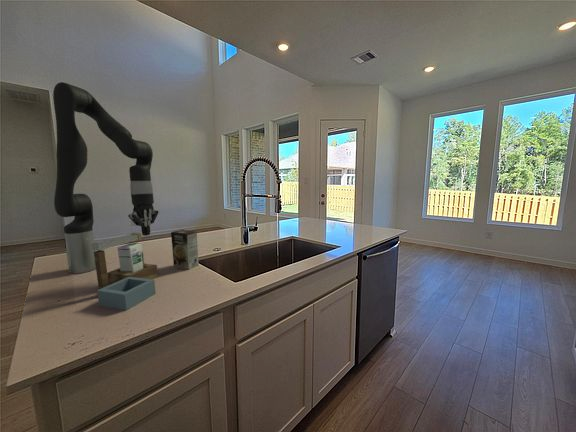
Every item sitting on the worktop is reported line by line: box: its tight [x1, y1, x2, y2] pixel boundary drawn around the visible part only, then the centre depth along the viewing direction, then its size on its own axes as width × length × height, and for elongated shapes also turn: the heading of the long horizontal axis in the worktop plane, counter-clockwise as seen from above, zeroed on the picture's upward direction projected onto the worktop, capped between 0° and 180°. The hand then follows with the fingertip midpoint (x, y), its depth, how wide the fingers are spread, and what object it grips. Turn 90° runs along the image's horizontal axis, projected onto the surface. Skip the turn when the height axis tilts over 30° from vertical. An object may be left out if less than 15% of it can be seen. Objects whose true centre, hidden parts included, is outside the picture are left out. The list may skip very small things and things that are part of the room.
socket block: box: [94, 249, 159, 290], centre depth 89 cm, size 12×18×15 cm, turn 164°
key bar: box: [92, 232, 143, 251], centre depth 87 cm, size 4×16×3 cm, turn 164°
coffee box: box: [170, 229, 199, 270], centre depth 108 cm, size 9×6×16 cm
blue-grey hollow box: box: [96, 277, 157, 311], centre depth 79 cm, size 11×11×5 cm
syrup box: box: [116, 242, 145, 273], centre depth 93 cm, size 6×6×14 cm
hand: (146, 235), depth 98 cm, fingers closed
